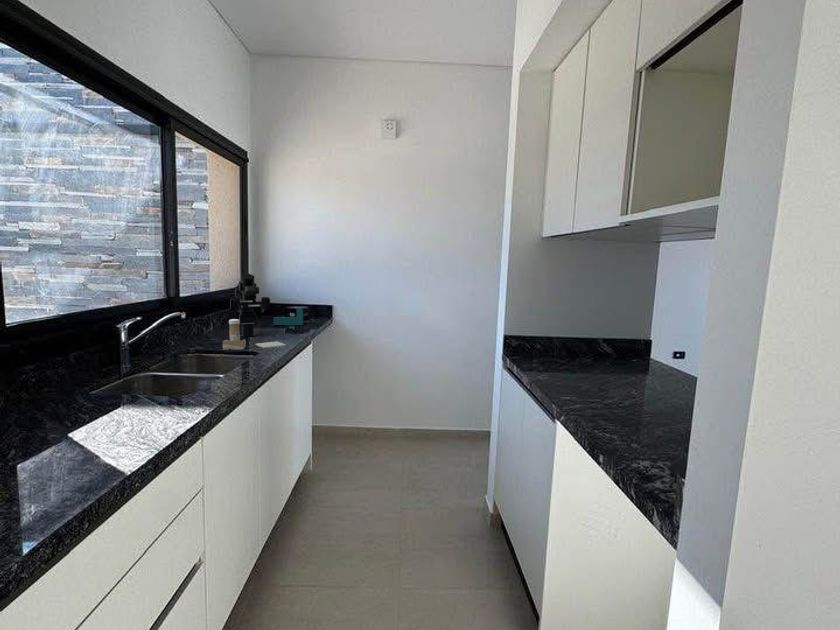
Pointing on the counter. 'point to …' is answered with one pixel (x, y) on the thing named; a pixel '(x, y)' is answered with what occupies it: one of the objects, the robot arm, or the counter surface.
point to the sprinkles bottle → (234, 330)
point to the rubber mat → (270, 344)
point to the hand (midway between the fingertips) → (252, 312)
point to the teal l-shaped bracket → (290, 319)
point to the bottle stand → (234, 344)
